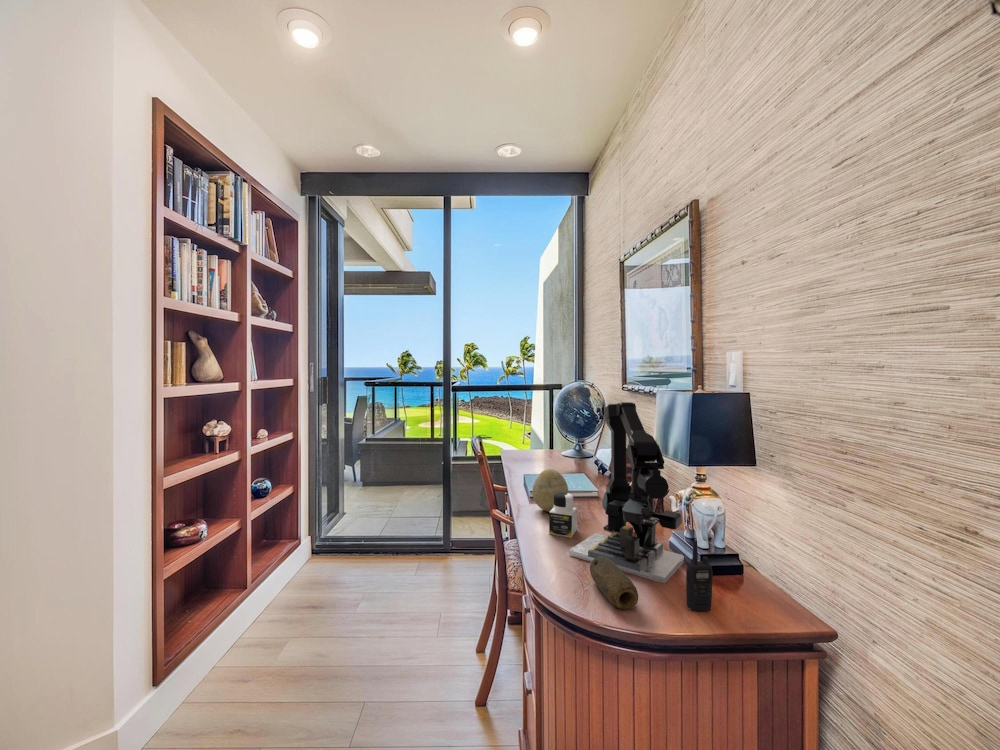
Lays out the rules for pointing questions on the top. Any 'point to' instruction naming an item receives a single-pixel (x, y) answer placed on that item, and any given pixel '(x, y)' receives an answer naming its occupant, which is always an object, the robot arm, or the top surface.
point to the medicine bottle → (563, 516)
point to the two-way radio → (698, 582)
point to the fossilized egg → (548, 488)
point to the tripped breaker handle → (625, 534)
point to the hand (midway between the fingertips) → (642, 545)
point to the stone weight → (613, 583)
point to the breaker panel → (649, 571)
